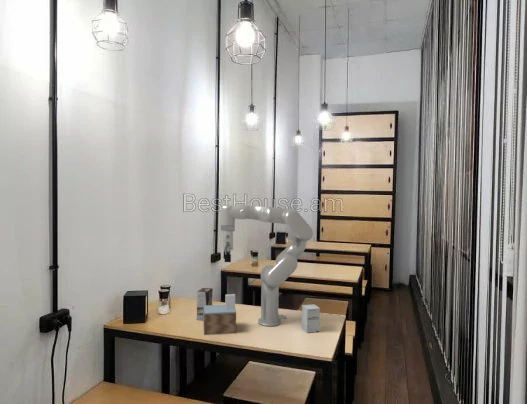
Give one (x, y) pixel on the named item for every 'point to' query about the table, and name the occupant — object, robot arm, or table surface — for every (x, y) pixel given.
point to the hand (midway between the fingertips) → (227, 260)
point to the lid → (222, 306)
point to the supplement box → (310, 318)
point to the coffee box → (203, 301)
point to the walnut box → (219, 323)
